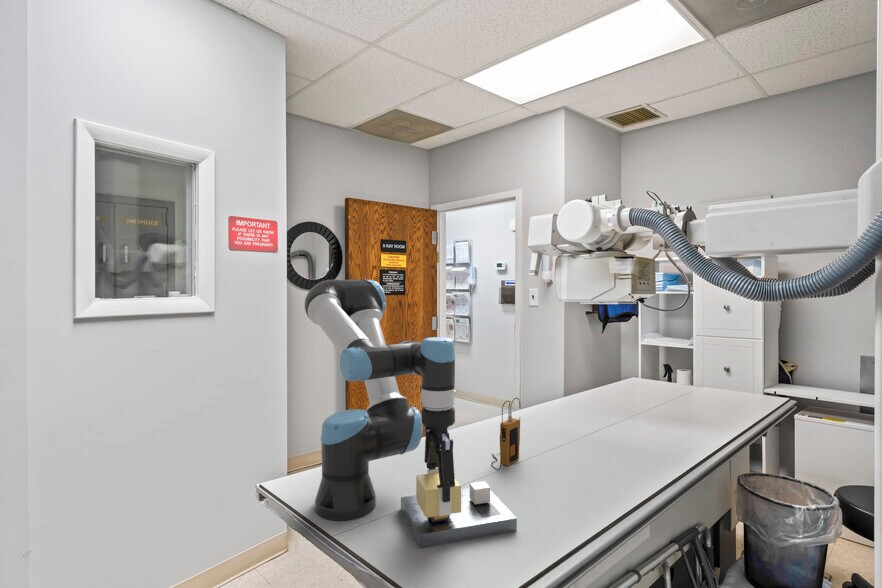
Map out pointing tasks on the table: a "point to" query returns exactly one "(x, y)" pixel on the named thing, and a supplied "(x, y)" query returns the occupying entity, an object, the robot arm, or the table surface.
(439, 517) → the block
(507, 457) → the multimeter
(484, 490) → the block
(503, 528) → the breaker panel
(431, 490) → the cap
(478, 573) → the table surface
